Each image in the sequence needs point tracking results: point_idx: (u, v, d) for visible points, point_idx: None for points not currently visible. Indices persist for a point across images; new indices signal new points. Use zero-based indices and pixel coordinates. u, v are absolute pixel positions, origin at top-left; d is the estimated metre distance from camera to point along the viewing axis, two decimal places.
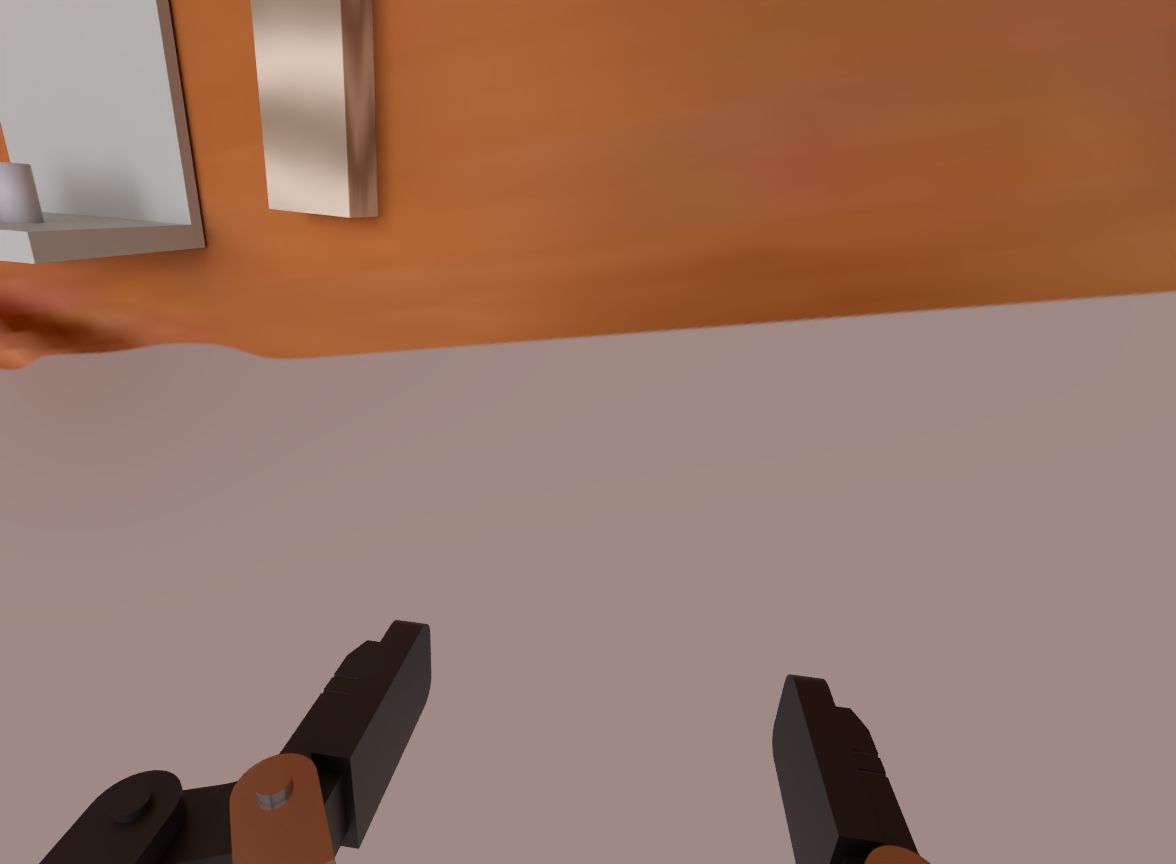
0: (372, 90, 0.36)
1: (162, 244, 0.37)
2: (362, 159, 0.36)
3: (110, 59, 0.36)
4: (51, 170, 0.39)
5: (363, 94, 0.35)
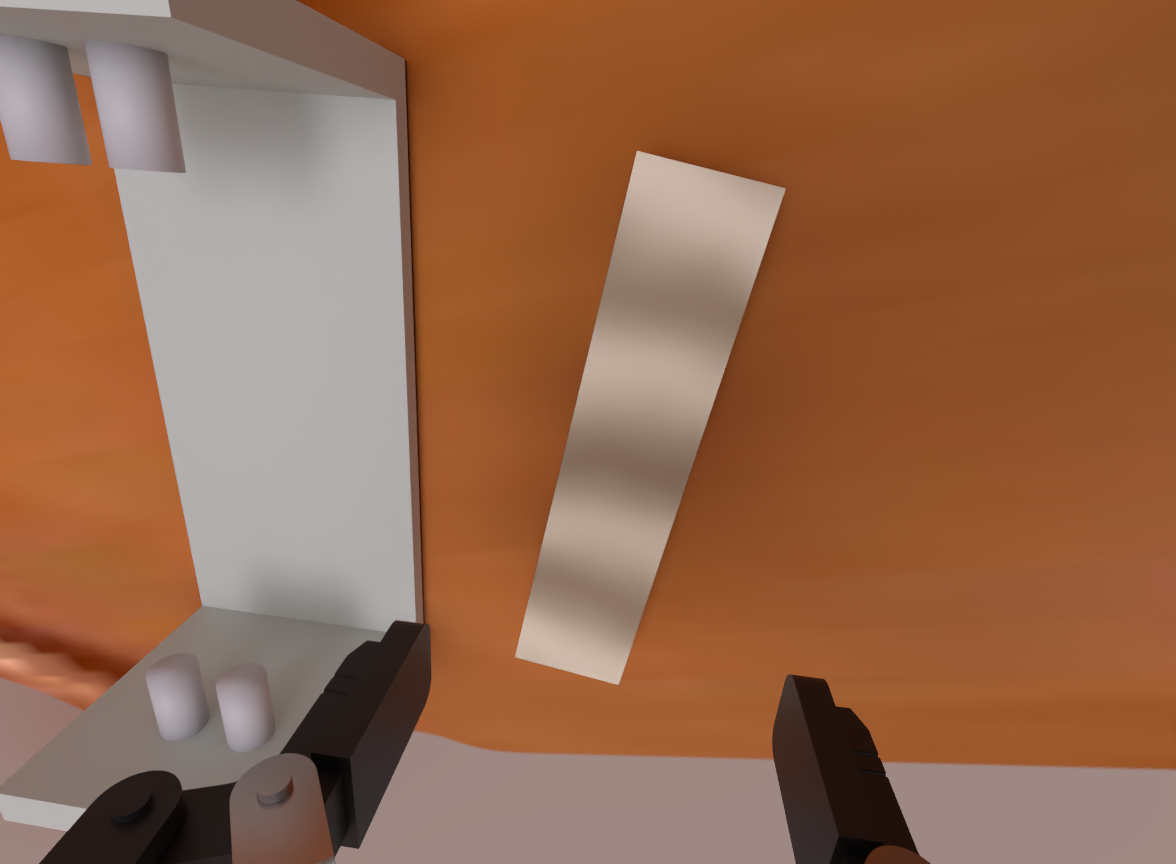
0: None
1: None
2: None
3: (337, 471, 0.28)
4: (244, 571, 0.31)
5: None
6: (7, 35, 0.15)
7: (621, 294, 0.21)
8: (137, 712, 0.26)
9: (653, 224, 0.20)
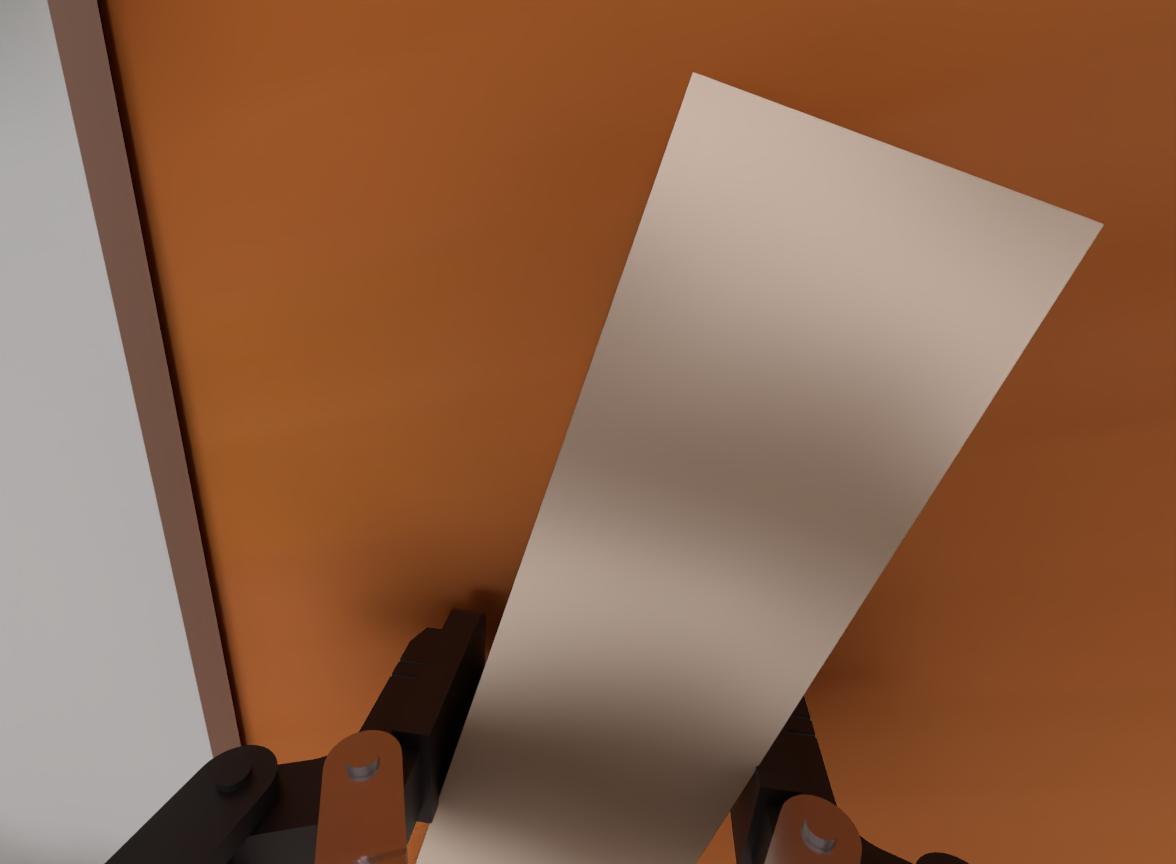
0: None
1: None
2: None
3: (76, 700, 0.16)
4: None
5: None
6: None
7: (612, 446, 0.08)
8: None
9: (714, 283, 0.07)
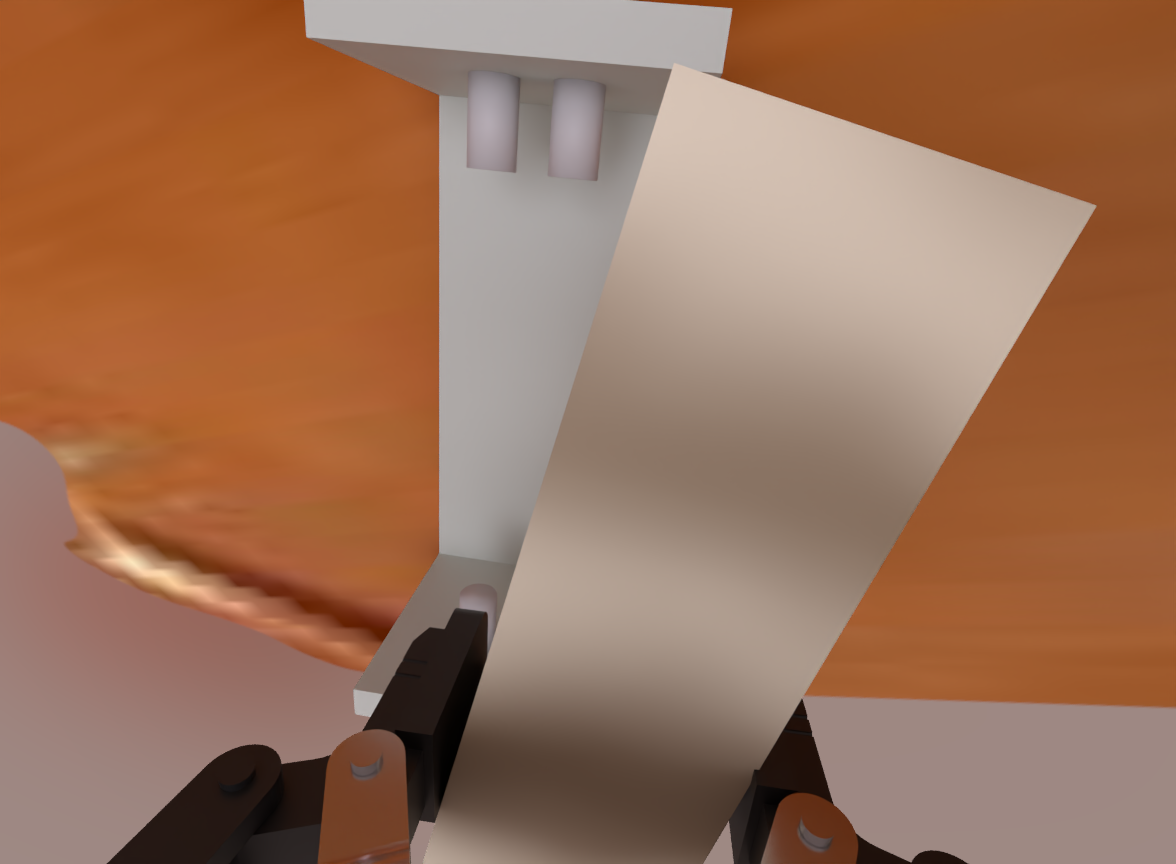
0: None
1: None
2: None
3: None
4: (484, 523, 0.36)
5: None
6: (500, 72, 0.20)
7: (605, 443, 0.08)
8: None
9: (703, 275, 0.07)
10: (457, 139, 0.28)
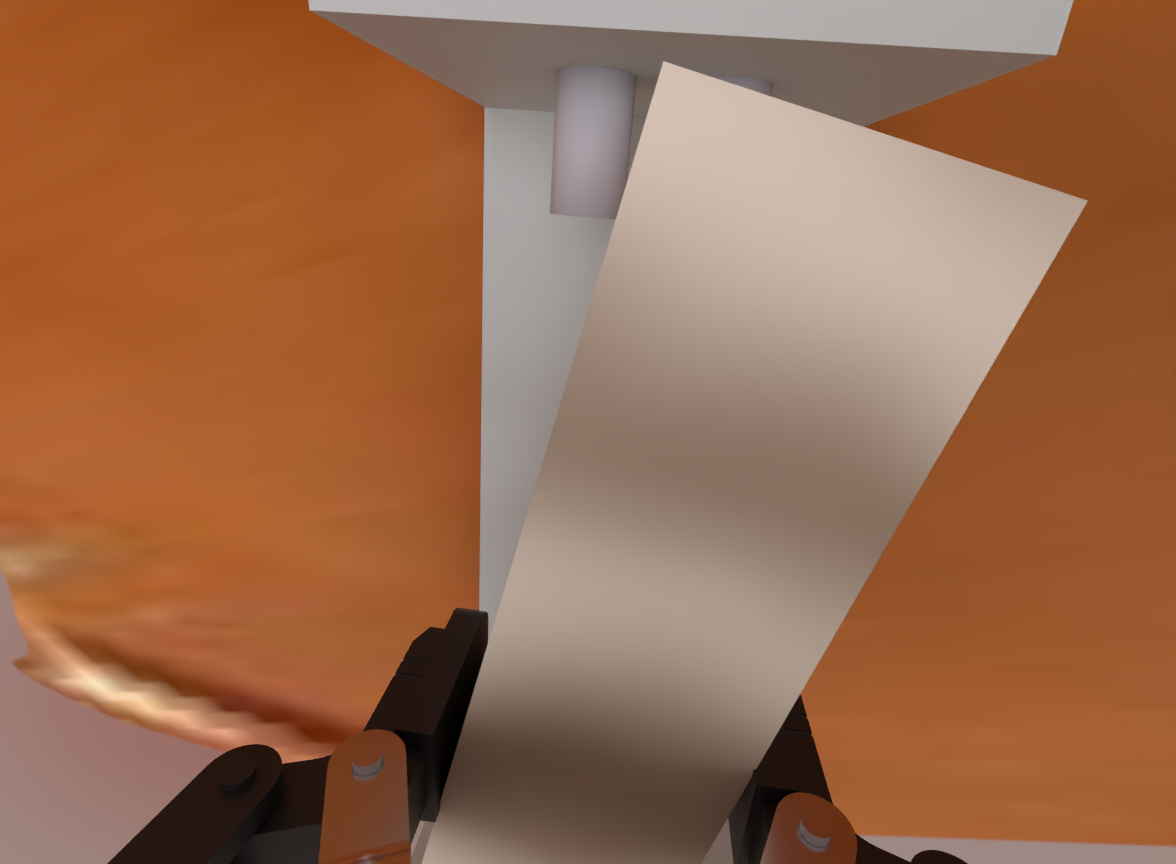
0: None
1: None
2: None
3: None
4: None
5: None
6: (612, 68, 0.13)
7: (598, 442, 0.08)
8: None
9: (695, 274, 0.07)
10: (508, 165, 0.21)
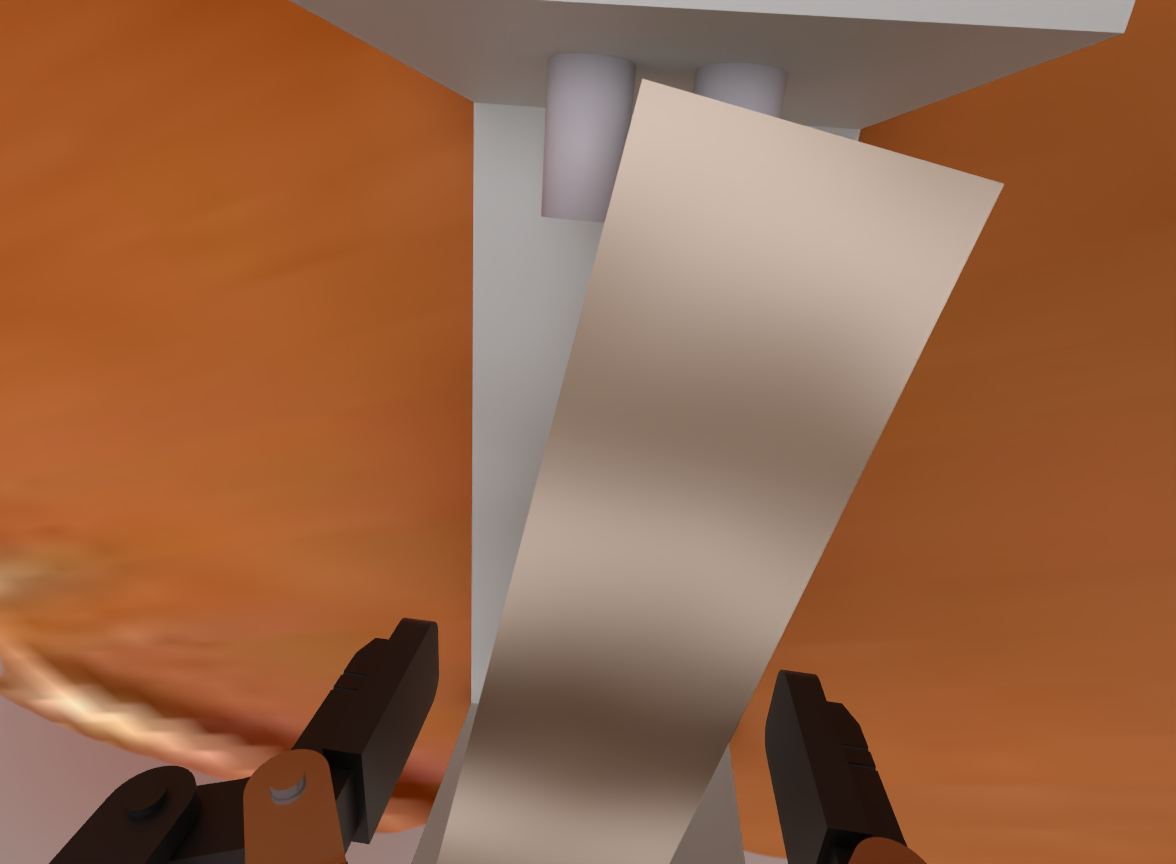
0: None
1: None
2: None
3: None
4: None
5: None
6: (609, 55, 0.11)
7: (599, 410, 0.10)
8: None
9: (677, 258, 0.09)
10: (499, 165, 0.20)
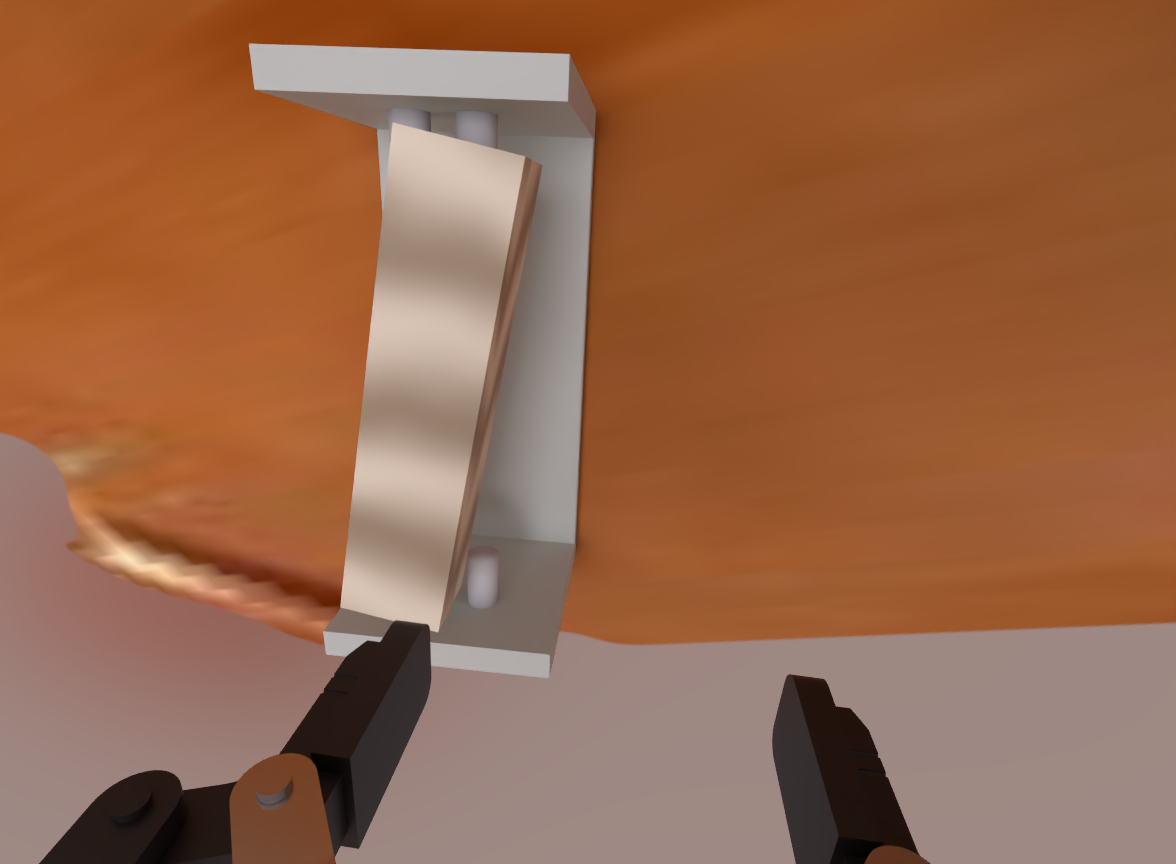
0: (481, 474, 0.30)
1: (569, 580, 0.39)
2: (459, 556, 0.30)
3: (524, 411, 0.38)
4: None
5: (473, 491, 0.29)
6: (411, 108, 0.25)
7: (395, 254, 0.23)
8: None
9: (415, 189, 0.23)
10: None
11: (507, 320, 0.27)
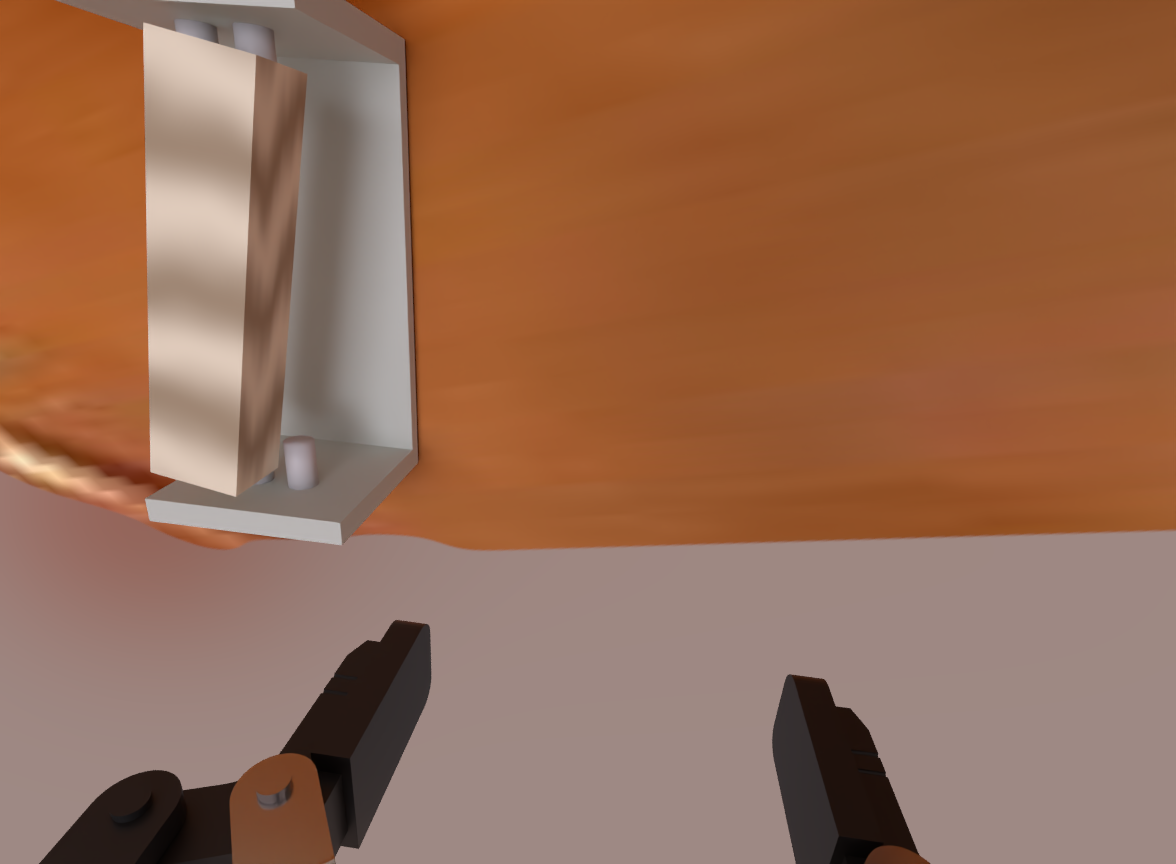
0: (281, 361, 0.34)
1: (398, 478, 0.42)
2: (260, 432, 0.34)
3: (358, 322, 0.42)
4: (291, 403, 0.44)
5: (268, 373, 0.33)
6: (191, 20, 0.29)
7: (159, 143, 0.27)
8: None
9: (169, 83, 0.26)
10: None
11: (282, 214, 0.30)
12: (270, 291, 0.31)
